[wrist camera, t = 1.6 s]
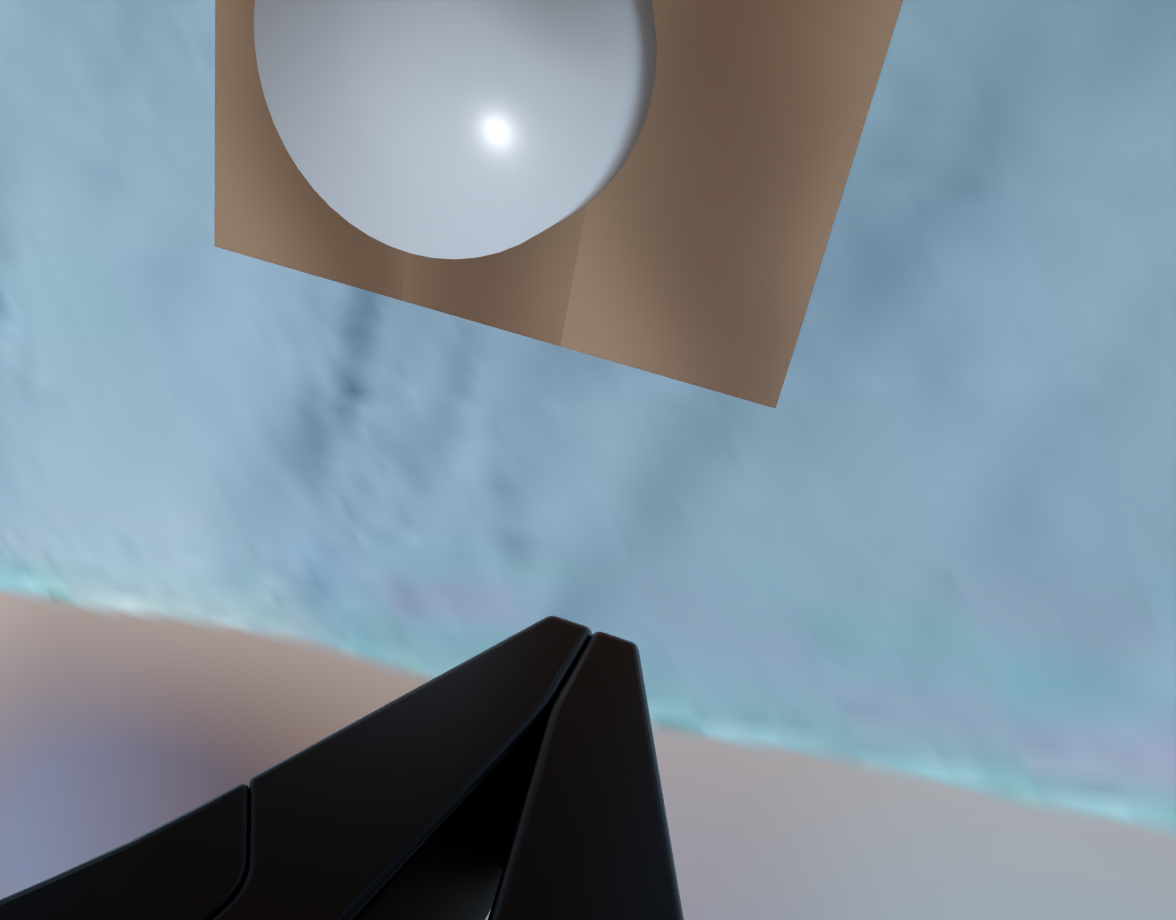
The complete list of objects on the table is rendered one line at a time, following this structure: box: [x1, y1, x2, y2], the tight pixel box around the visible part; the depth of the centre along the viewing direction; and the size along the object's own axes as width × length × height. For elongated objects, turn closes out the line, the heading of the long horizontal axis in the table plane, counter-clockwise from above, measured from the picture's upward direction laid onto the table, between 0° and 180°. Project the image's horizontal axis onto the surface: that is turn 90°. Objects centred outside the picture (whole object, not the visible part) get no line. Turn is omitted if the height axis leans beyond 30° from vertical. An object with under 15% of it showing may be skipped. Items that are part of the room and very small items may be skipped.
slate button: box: [254, 0, 657, 259], centre depth 15 cm, size 6×6×5 cm
